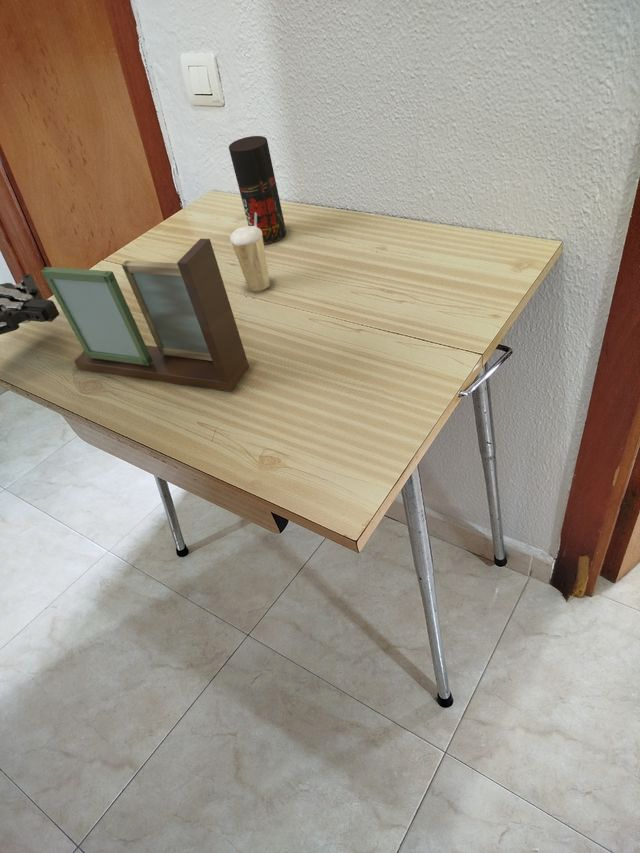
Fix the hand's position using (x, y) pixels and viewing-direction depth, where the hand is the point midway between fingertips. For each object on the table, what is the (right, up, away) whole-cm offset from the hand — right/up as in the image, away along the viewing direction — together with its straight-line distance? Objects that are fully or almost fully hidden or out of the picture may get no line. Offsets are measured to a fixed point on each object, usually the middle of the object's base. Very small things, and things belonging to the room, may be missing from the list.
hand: (53, 311), depth 75 cm
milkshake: (+25, +6, +13) cm, 29 cm away
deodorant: (+25, +17, +24) cm, 39 cm away
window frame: (+13, -7, +2) cm, 15 cm away
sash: (+8, -6, +2) cm, 10 cm away
